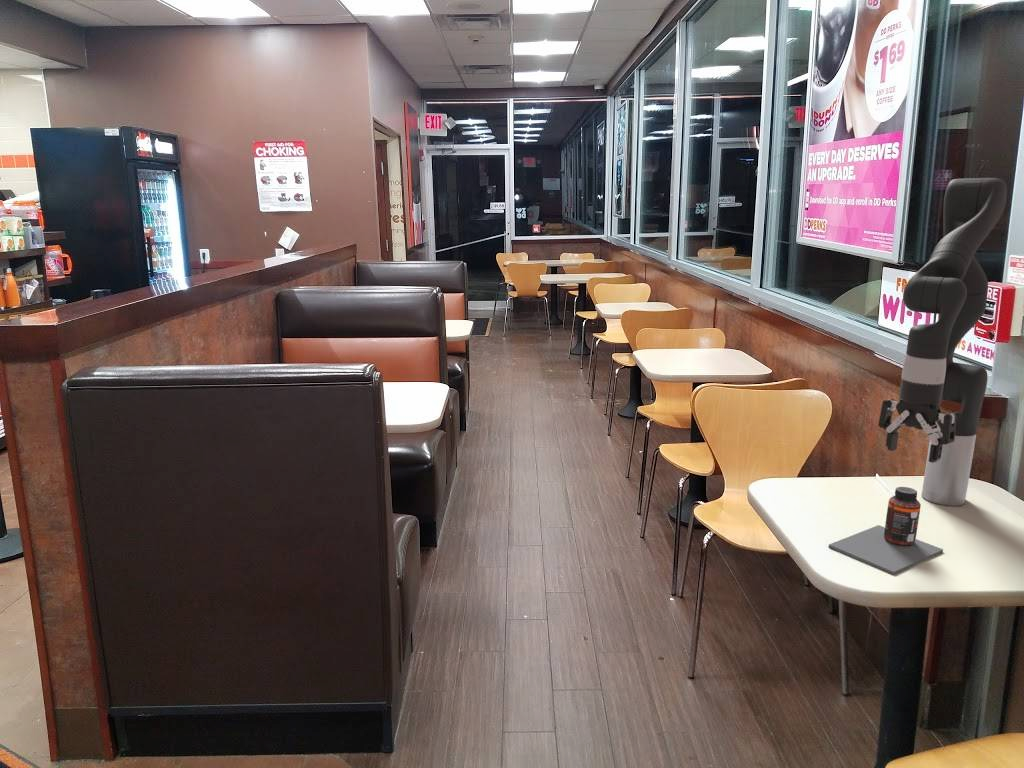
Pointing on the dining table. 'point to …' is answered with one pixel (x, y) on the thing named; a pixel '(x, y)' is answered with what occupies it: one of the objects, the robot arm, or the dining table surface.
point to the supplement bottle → (902, 517)
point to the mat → (884, 550)
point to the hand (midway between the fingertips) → (911, 455)
